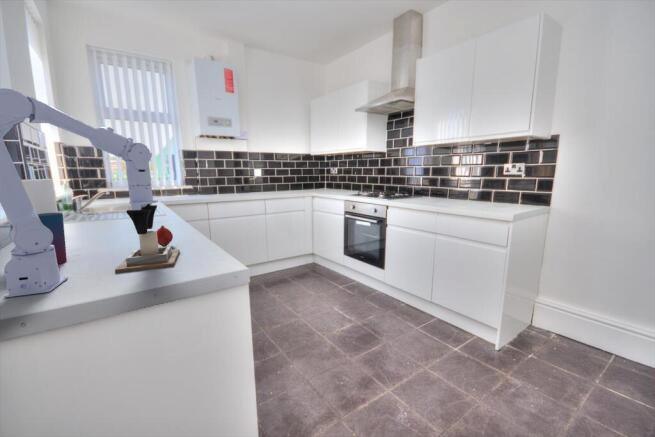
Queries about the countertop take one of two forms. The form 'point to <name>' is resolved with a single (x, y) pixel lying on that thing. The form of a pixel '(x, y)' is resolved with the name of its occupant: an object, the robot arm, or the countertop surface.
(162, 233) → the red round fruit
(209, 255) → the countertop surface
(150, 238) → the roll
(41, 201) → the cylindrical container
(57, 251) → the cup
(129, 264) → the holder
